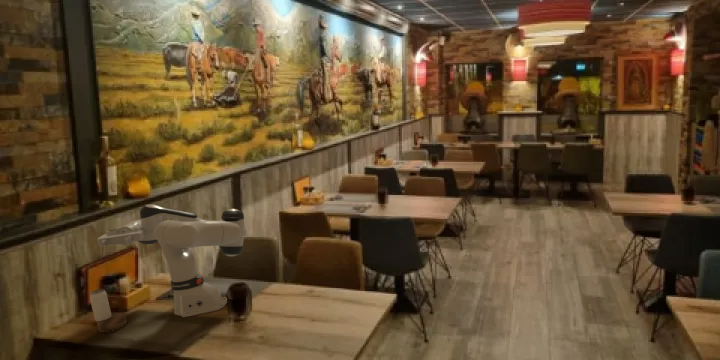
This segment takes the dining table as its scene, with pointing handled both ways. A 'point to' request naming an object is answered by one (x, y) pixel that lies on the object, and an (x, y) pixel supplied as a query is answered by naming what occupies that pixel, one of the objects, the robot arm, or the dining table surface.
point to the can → (100, 305)
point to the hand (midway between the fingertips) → (113, 242)
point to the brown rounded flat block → (112, 322)
